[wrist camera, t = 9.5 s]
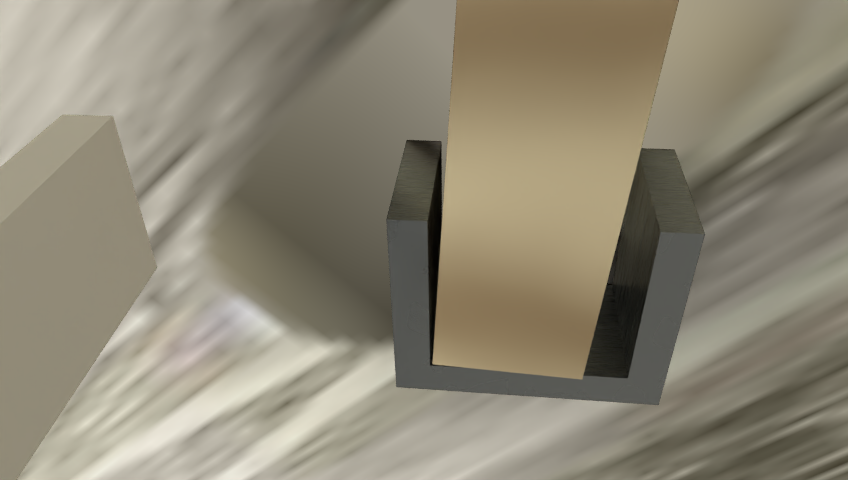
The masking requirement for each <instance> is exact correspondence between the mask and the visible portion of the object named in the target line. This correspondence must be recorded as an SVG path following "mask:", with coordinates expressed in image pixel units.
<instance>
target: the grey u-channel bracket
mask: <svg viewBox="0 0 848 480" xmlns="http://www.w3.org/2000/svg"><path fill="white" fill-rule="evenodd" d="M441 168H442V167H441V141H419V140H407V141H406V145H405V149H404V153H403V157H402V161H401V165H400V169H399V172H398V176H397V180H396V184H395V188H394V192H393V196H392V200H391V204H390V207H389V211H388V215H387V236H388V237H387V238H388V253H389V271H390V287H391V304H392V319H393V338H394V354H395V371H396V387H404V388H418V389H433V390H447V391H462V392H476V393H491V394H506V395H520V396H535V397H549V398H564V399H578V400H593V401H607V402H622V403H637V404H651V405H659V401H660V398H661V394H662V390H663V387H664V383H665V379H666V376H667V372H668V368H669V364H670V361H671V357H672V353H673V350H674V346H675V342H676V339H677V335H678V331H679V328H680V324H681V320H682V317H683V313H684V309H685V306H686V302H687V298H688V295H689V291H690V287H691V283H692V280H693V276H694V272H695V269H696V265H697V261H698V258H699V254H700V250H701V247H702V243H703V239H704V236H705V233H704V230H703V228H702V225H701V222H700V219H699V216H698V214H697V211H696V208H695V205H694V203H693V200H692V197H691V194H690V191H689V189H688V186H687V183H686V180H685V178H684V175H683V172H682V169H681V166H680V164H679V161H678V158H677V155H676V152H675V150H673V149H644V148H641V151H640V155H639V159H638V163H637V167H636V171H635V175H634V179H633V182H632V186H631V190H630V194H629V198H628V203H627V209H626V214H625V219H624V225H623V230H622V236H621V241H620V246H619V252H618V257H617V263H616V268H615V274H614V279H613V284H612V285H606V288H605V292H604V296H603V300H602V304H601V308H600V312H599V316H598V320H597V324H596V328H595V332H594V336H593V339H592V343H591V347H590V351H589V355H588V359H587V363H586V367H585V371H584V375H583V379H572V378H562V377H553V376H543V375H533V374H523V373H513V372H504V371H494V370H484V369H474V368H464V367H455V366H445V365H435V364H433V349H434V334H435V320H436V305H437V290H438V275H439V260H440V245H441V230H442V183H441V182H442V180H441V179H442V178H441V175H442V170H441Z"/></svg>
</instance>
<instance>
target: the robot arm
mask: <svg viewBox="0 0 848 480" xmlns="http://www.w3.org/2000/svg"><path fill="white" fill-rule="evenodd" d="M156 268H157V265H156V262H155V259H154V255H153V252H152V248H151V245H150V241H149V238H148V235H147V231H146V228H145V224H144V221H143V218H142V214H141V211H140V207H139V204H138V200H137V197H136V194H135V190H134V187H133V183H132V180H131V177H130V173H129V170H128V166H127V163H126V159H125V156H124V153H123V149H122V146H121V142H120V139H119V136H118V132H117V129H116V125H115V122H114V118H113V116H90V115H62V116H60V117H59V118H58V119H57V120H56V121H54V122H53V123H52V124H51V125H50V126H49V127H47V128H46V129H45V130H44V131H43V132H41V133H40V134H39V135H38V136H37V137H36V138H34V139H33V140H32V141H31V142H30V143H28V144H27V145H26V146H25V147H24V148H23V149H21V150H20V151H19V152H18V153H17V154H15V155H14V156H13V157H12V158H11V159H10V160H8V161H7V162H6V163H5V164H4V165H2V166H1V167H0V480H17V478H18V477H19V475H20V474H21V472H22V471H23V469H24V468H25V466H26V465H27V463H28V462H29V460H30V459H31V457H32V456H33V454H34V453H35V451H36V450H37V448H38V447H39V445H40V444H41V442H42V441H43V439H44V438H45V436H46V435H47V433H48V432H49V430H50V429H51V427H52V426H53V424H54V422H55V421H56V419H57V418H58V416H59V415H60V413H61V412H62V410H63V409H64V407H65V406H66V404H67V403H68V401H69V400H70V398H71V397H72V395H73V394H74V392H75V391H76V389H77V388H78V386H79V385H80V383H81V382H82V380H83V379H84V377H85V376H86V374H87V373H88V371H89V370H90V368H91V367H92V365H93V364H94V362H95V361H96V359H97V358H98V356H99V355H100V353H101V352H102V350H103V348H104V347H105V345H106V344H107V342H108V341H109V339H110V338H111V336H112V335H113V333H114V332H115V330H116V329H117V327H118V326H119V324H120V323H121V321H122V320H123V318H124V317H125V315H126V314H127V312H128V311H129V309H130V308H131V306H132V305H133V303H134V302H135V300H136V299H137V297H138V296H139V294H140V293H141V291H142V290H143V288H144V287H145V285H146V284H147V282H148V281H149V279H150V278H151V276H152V274H153V273H154V271H155V270H156Z"/></svg>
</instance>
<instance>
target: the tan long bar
mask: <svg viewBox="0 0 848 480" xmlns="http://www.w3.org/2000/svg"><path fill="white" fill-rule="evenodd" d="M678 2H679V0H457V6H456V21H455V37H454V50H453V66H452V80H451V95H450V110H449V112H450V113H449V125H448V140H447V141H448V142H447V155H446V170H445V187H444V201H443V216H442V230H441V245H440V260H439V275H438V290H437V305H436V320H435V334H434V349H433V364H435V365H445V366H455V367H464V368H474V369H484V370H494V371H504V372H513V373H523V374H533V375H543V376H553V377H562V378H572V379H583V375H584V371H585V367H586V363H587V359H588V355H589V351H590V347H591V343H592V339H593V336H594V332H595V328H596V324H597V320H598V316H599V312H600V308H601V304H602V300H603V296H604V292H605V288H606V285H607V281H608V277H609V273H610V269H611V265H612V261H613V257H614V253H615V249H616V245H617V241H618V237H619V234H620V230H621V226H622V222H623V218H624V214H625V210H626V206H627V202H628V198H629V194H630V190H631V186H632V182H633V179H634V175H635V171H636V167H637V163H638V159H639V155H640V151H641V147H642V143H643V139H644V135H645V131H646V127H647V124H648V120H649V115H650V111H651V108H652V104H653V100H654V96H655V92H656V88H657V84H658V80H659V76H660V72H661V69H662V64H663V60H664V57H665V53H666V49H667V45H668V41H669V37H670V33H671V29H672V25H673V21H674V18H675V14H676V10H677V6H678Z"/></svg>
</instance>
